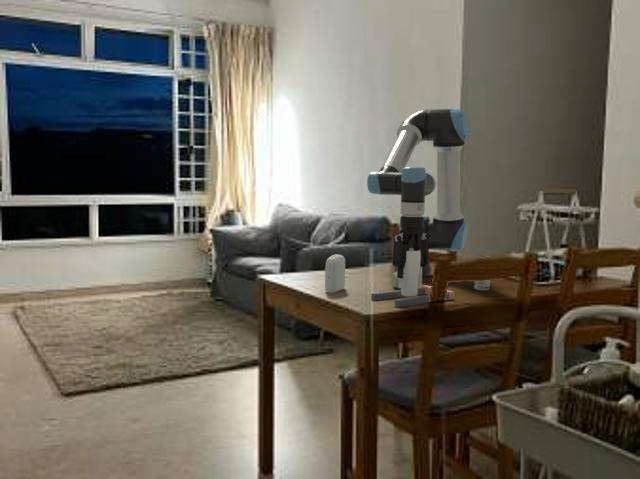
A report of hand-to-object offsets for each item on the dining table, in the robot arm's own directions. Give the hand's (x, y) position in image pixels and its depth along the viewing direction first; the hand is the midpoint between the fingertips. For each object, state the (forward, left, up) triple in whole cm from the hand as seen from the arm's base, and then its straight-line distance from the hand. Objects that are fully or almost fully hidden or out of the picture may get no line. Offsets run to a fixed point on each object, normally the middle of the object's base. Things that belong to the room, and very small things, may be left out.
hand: (409, 287), depth 210 cm
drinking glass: (0, 0, -3) cm, 3 cm away
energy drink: (-35, -1, -4) cm, 36 cm away
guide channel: (-1, 0, -4) cm, 4 cm away
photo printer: (+12, -25, -4) cm, 28 cm away
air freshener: (-12, -16, -4) cm, 21 cm away
